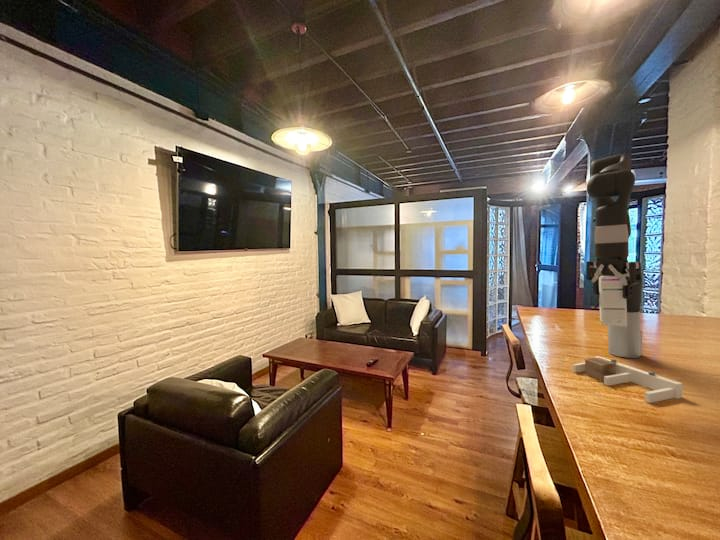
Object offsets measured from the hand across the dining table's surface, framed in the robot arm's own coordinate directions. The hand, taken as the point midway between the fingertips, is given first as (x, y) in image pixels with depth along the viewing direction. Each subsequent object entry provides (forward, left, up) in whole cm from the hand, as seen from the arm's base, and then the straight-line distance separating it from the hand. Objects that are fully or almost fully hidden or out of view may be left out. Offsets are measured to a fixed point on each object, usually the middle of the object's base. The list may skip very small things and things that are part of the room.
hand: (612, 296), depth 87 cm
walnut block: (-4, -7, -28) cm, 29 cm away
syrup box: (0, 0, -8) cm, 8 cm away
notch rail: (-5, -1, -28) cm, 28 cm away
